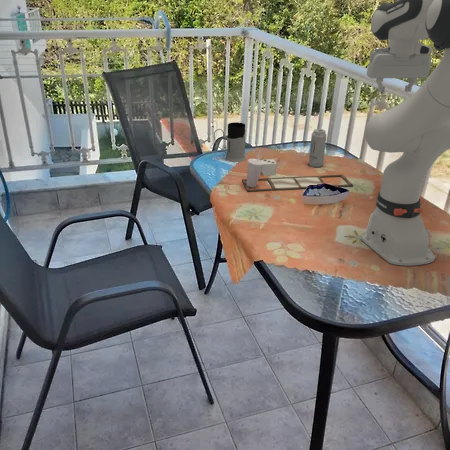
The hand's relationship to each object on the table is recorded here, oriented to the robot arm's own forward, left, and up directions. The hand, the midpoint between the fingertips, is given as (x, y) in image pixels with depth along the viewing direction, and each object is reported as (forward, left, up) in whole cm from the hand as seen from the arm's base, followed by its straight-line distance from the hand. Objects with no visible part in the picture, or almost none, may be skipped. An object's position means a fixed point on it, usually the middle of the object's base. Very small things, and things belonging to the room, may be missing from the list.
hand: (394, 91), depth 155 cm
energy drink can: (+31, +13, -37) cm, 50 cm away
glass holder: (+43, +48, -37) cm, 74 cm away
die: (+25, +35, -37) cm, 57 cm away
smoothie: (+13, +44, -37) cm, 59 cm away
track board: (+13, +26, -37) cm, 47 cm away
